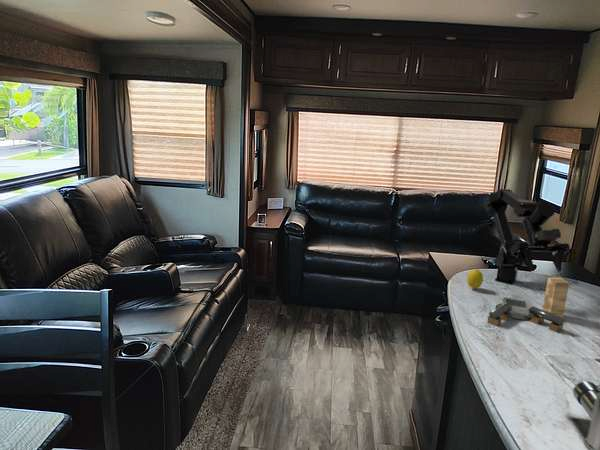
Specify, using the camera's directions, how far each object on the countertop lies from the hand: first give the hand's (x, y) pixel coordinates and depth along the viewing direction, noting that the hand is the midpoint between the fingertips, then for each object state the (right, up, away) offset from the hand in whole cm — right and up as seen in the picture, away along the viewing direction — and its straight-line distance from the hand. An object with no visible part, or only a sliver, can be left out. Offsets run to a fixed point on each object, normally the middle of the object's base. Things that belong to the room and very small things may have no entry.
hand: (546, 271), depth 153 cm
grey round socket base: (-12, -14, -3) cm, 18 cm away
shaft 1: (-20, -15, -9) cm, 27 cm away
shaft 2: (-7, -16, -11) cm, 21 cm away
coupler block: (0, -14, -4) cm, 15 cm away
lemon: (-18, -9, +18) cm, 27 cm away
